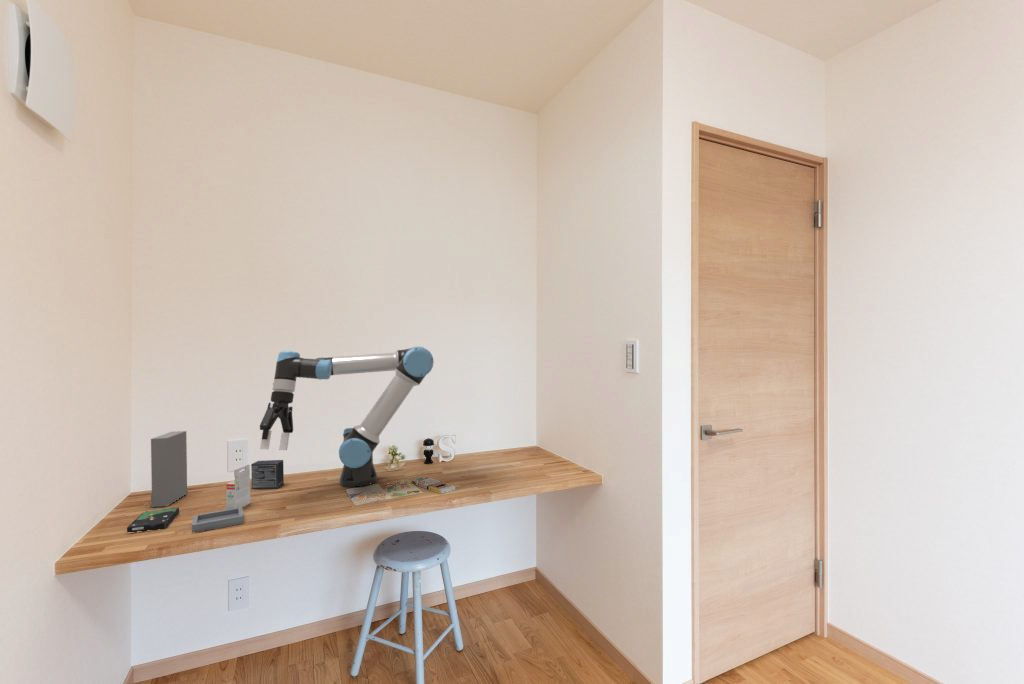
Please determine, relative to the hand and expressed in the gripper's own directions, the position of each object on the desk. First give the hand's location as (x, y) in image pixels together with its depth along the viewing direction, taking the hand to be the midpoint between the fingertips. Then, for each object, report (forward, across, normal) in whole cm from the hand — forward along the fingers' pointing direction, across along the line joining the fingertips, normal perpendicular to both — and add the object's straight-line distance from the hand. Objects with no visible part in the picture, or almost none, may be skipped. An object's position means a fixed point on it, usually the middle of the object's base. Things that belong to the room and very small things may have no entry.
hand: (273, 449), depth 170 cm
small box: (+15, -26, -13) cm, 32 cm away
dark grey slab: (+20, -10, -42) cm, 48 cm away
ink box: (+21, -3, -11) cm, 24 cm away
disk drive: (+26, +10, -30) cm, 41 cm away
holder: (+24, +11, -9) cm, 28 cm away
